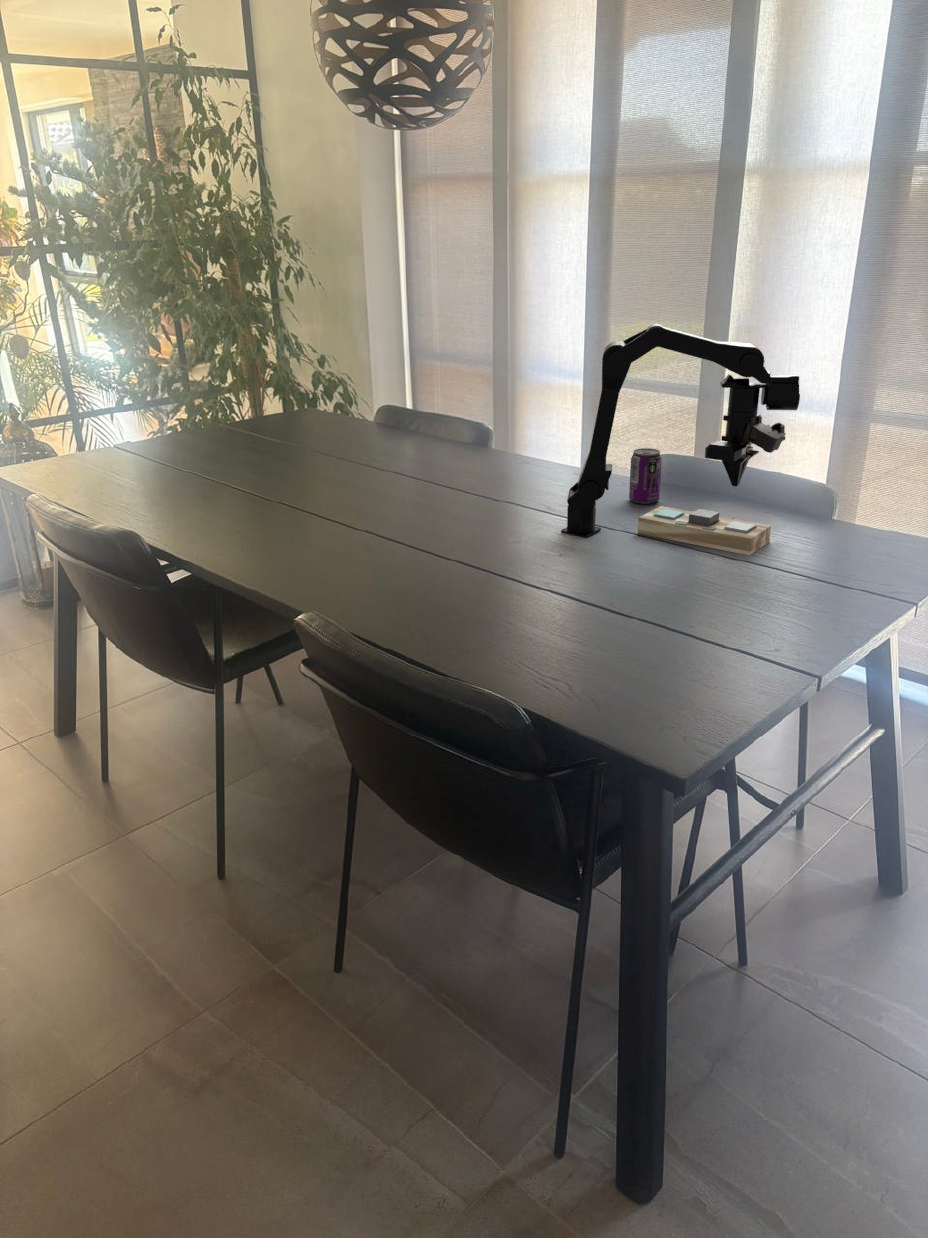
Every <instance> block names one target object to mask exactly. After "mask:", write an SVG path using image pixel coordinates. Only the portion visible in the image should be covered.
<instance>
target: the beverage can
mask: <svg viewBox="0 0 928 1238" xmlns="http://www.w3.org/2000/svg"><path fill="white" fill-rule="evenodd" d="M662 459H663V458H662V457H661V451H660V450H659V449H655V448H647V447H646V448H636V449H634V450H633V453H632V455H631V457H630V471H629V491H628V493H629V494H628V499H629V500H631V501H632V502H634V503H635V502H636V503H635V504H639V503H641V504H640V505H650V503H651V504H654V503H656V502H657V501H659V500H660V498H661V495H660V494H661V482H662V481H661V479H662V478H661V477H662V476H661V475H662V461H663V460H662Z"/></svg>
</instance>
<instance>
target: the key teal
mask: <svg viewBox="0 0 928 1238" xmlns="http://www.w3.org/2000/svg"><path fill="white" fill-rule="evenodd" d="M683 515H684V512H680V511H675V510H669V509H663V510H661V511H659V512H657V513H655V514H654V517H659V518H665V519H670V520H676V519H678V518H679V517H681V516H683Z"/></svg>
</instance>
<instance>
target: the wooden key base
mask: <svg viewBox="0 0 928 1238" xmlns="http://www.w3.org/2000/svg"><path fill="white" fill-rule="evenodd" d="M663 509H669V510H675V511H680V512H684V515H683V516H681V517H679V518H678V519H676V520H670V519H665V518H659V517H654V514H655V513H657V512H659V511H661V510H663ZM692 512H693V511H690V510H685V509H679V508H674V507H668V506H663V505H660V506H659V507H656V508H655V509H653V510H651V511H648V512H646V513H645V514H643V515H640V516H639V517H638V519H637V521H638V523H637V525H638V526H637V534H641V535H645V536H650V537H656V538H660V539H665V540H670V541H675V542H682V543H685V544H691V545H695V546H701V547H704V548H705V547H706V548H711V549H715V550H721V551H726V552H731V553H737V554H740V555H745V556H751V555H752V554H754V553H755V552H757V551H758V550H760V549H762V548H763V547H764V546H766V545H767V544H769V542H770V541H771V530H772V525H769V524H764V523H757V522H753V521H747V520H741V519H735V518H731V517H724V516H719V522H717V523H716V524H714V525H712V526H710V527H709V526H703V525H697V524H692V523H688V522H689V514H690V513H692ZM733 521H737V522H743V523H749V524H754V525H756V528H755V529H754V530H752V531H751V532H749V533H748V534H746V533H740V532H735V531H729V530H725V526H727V525H729V524H730V523H732V522H733Z"/></svg>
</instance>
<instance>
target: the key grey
mask: <svg viewBox="0 0 928 1238" xmlns="http://www.w3.org/2000/svg"><path fill="white" fill-rule="evenodd" d="M755 528H756V525H754V524H749V523H743V522H737V521H733V522H732V523H730V524H729V525H727V526H725V530H729V531H735V532H740V533H746V534H748V533H749V532H751V531H752V530H754V529H755Z"/></svg>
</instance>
